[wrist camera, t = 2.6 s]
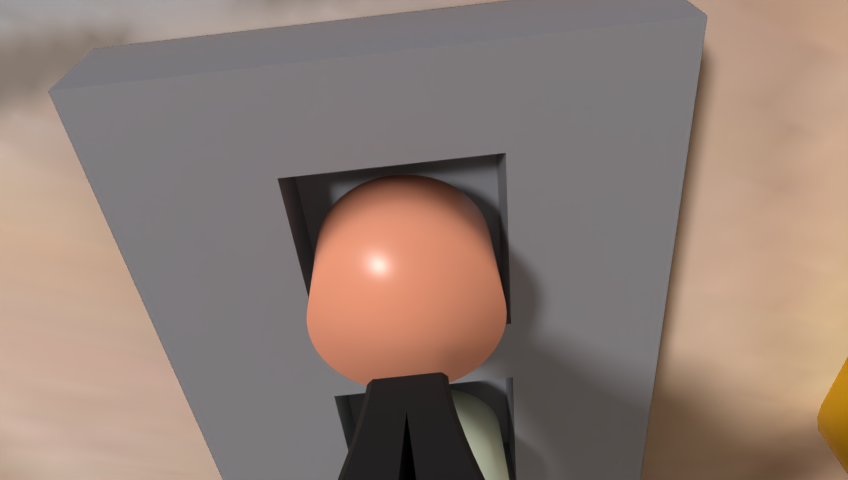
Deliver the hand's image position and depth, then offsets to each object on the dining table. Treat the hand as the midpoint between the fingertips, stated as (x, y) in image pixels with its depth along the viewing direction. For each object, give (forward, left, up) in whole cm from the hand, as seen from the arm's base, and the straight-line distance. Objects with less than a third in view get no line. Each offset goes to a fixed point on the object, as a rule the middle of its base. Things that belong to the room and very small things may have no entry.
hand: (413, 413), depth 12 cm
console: (0, -7, -7) cm, 10 cm away
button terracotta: (0, 0, -5) cm, 5 cm away
